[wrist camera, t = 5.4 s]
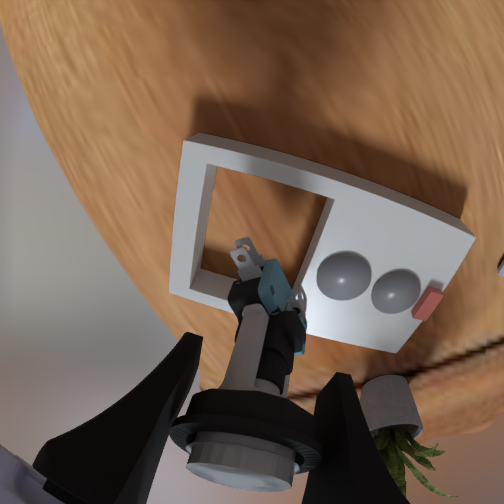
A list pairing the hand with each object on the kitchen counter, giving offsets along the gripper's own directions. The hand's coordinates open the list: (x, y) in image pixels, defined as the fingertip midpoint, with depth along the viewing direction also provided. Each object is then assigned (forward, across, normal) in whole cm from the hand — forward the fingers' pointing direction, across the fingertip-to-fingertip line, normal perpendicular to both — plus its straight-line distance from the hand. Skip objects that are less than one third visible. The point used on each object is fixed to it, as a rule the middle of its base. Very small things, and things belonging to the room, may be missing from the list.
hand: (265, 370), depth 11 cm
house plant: (+11, -14, +14) cm, 22 cm away
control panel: (+10, -2, 0) cm, 11 cm away
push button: (+6, 0, 0) cm, 6 cm away
